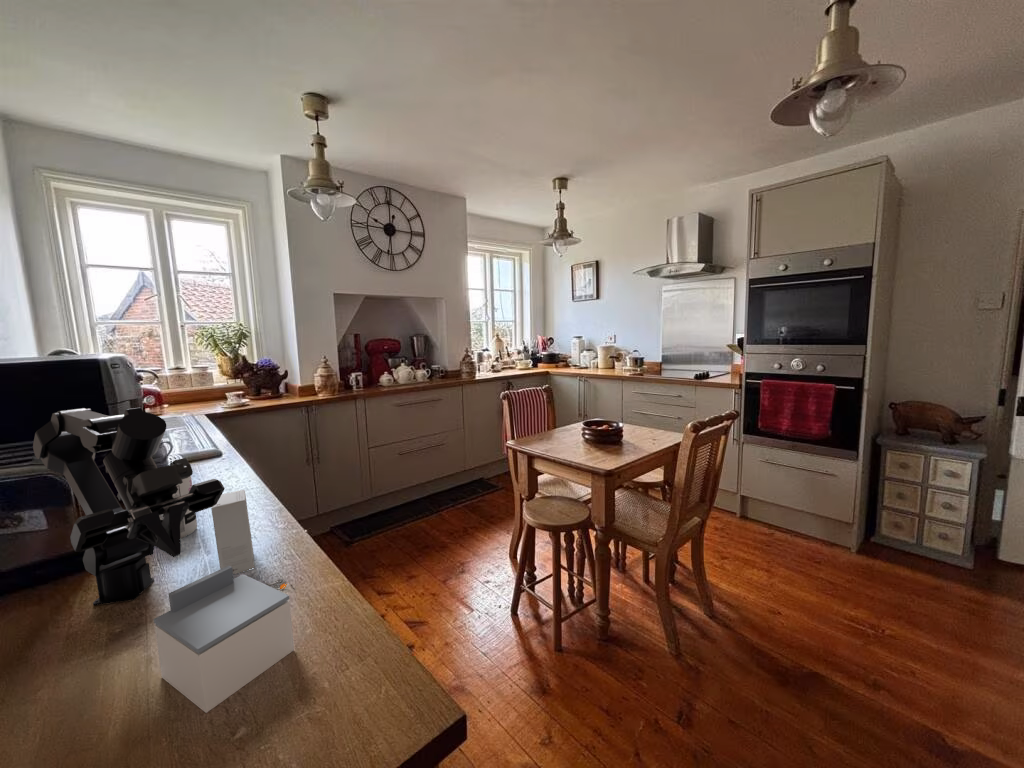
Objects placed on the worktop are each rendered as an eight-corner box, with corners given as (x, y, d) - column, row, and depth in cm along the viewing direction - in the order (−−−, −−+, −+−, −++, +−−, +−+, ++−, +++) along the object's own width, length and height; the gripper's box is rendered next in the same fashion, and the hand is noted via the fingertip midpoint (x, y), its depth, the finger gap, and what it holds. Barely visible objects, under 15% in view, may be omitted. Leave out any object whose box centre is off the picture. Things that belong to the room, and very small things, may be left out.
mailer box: (161, 677, 59) (154, 624, 58) (249, 624, 70) (244, 579, 69) (206, 713, 53) (198, 655, 52) (294, 649, 64) (289, 601, 63)
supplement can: (146, 539, 100) (138, 478, 98) (184, 524, 108) (177, 467, 106) (168, 544, 97) (159, 482, 95) (205, 529, 105) (198, 470, 103)
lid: (154, 622, 58) (151, 601, 58) (243, 577, 68) (241, 559, 68) (198, 653, 52) (195, 630, 52) (289, 599, 63) (287, 579, 62)
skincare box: (255, 569, 86) (247, 500, 84) (219, 579, 83) (210, 507, 81) (253, 552, 93) (246, 487, 91) (220, 560, 90) (212, 494, 88)
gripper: (64, 464, 58) (109, 558, 54) (213, 434, 74) (255, 504, 70) (54, 507, 63) (93, 597, 59) (195, 470, 79) (234, 538, 75)
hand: (177, 554), depth 66 cm, fingers closed
